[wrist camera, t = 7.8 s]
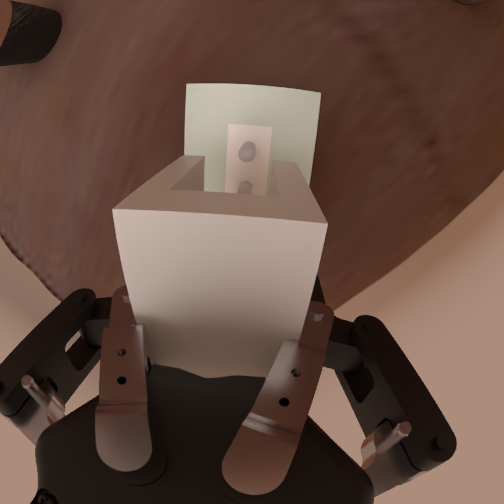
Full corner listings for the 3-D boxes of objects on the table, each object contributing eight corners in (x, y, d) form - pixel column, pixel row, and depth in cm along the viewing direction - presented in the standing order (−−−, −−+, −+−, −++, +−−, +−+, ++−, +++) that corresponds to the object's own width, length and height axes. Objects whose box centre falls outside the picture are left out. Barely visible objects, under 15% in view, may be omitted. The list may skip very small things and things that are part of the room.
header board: (192, 85, 21) (175, 81, 16) (316, 93, 21) (329, 91, 16) (192, 257, 30) (180, 284, 26) (292, 265, 30) (296, 294, 26)
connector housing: (182, 155, 11) (112, 209, 6) (295, 162, 11) (328, 223, 6) (191, 320, 17) (167, 411, 11) (271, 327, 17) (272, 422, 11)
